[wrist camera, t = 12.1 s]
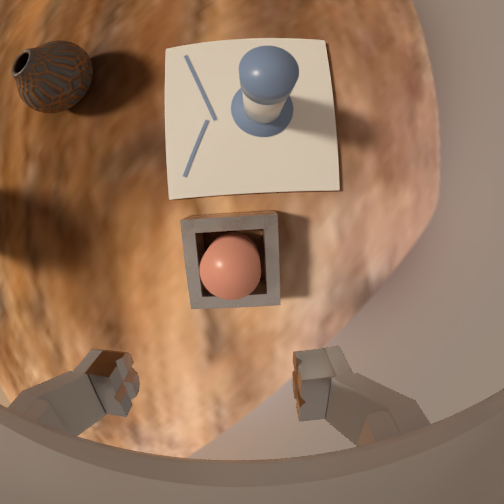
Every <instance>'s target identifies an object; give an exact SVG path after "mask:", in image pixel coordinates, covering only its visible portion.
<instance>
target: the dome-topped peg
mask: <svg viewBox="0 0 504 504" xmlns="http://www.w3.org/2000/svg"><path fill="white" fill-rule="evenodd" d="M298 77H299V67H298V64H297V62H296V60H295V58H294V57H293V56H292V55H291V54H290V53H289V52H287V51H286V50H284V49H282V48H279V47H276V46H259V47H256V48H253V49H251V50H250V51H248V52H247V53H246V54H245V55H244V56H243V57H242V59H241V61H240V63H239V79H240V86H241V89H242V93H243V105H244V112H245V114H246V116H247V117H248V118H249V119H250V120H251V121H253V122H255V123H258V124H268V123H271V122H273V121H274V120H276V119H277V118H278V116H279V115H280V112H281V110H282V108H283V106H284V104H285V101H286V99H287V98H288V97H289V95H290V94H291V92H292V90H293V88H294V86H295V84H296V82H297V80H298Z"/></svg>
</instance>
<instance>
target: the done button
mask: <svg viewBox="0 0 504 504" xmlns="http://www.w3.org/2000/svg"><path fill="white" fill-rule="evenodd" d="M200 277H201V280H202V282H203V284H204V286H205V287H206V289H207V290H208V291H209V292H210V293H212V294H213V295H215V296H217V297H219V298H221V299H226V300H237V299H241V298H243V297H245V296H247V295H249V294H250V293H251V292H252V291H253V290H254V289H255V288H256V287H257V285H258V283H259V281H260V277H261V265H260V256H259V251H258V248H257V246H256V244H255V243H254V242H253V241H252V240H251V239H250V238H249V237H247V236H246V235H244V234H241V233H237V232H229V233H225V234H222V235H220V236H218V237H217V238H216V239H215V240H214V241H213V242H212V243H211V244H210V246H209V248H208V249H207V251H206V252H205V254H204V256H203V257H202V260H201V263H200Z"/></svg>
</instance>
